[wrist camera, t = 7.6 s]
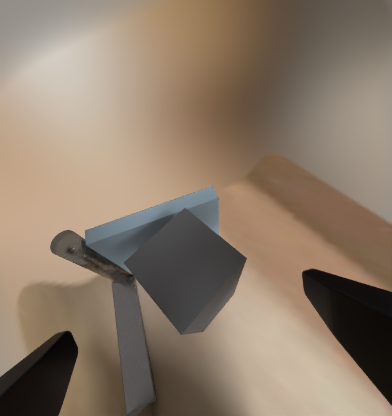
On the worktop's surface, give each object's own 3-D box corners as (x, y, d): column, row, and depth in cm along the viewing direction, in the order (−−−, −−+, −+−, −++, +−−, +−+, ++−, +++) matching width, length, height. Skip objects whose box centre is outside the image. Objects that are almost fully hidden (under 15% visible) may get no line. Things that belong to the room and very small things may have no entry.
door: (133, 275, 21) (85, 245, 14) (129, 251, 23) (84, 213, 15) (219, 242, 22) (218, 197, 15) (209, 222, 24) (205, 171, 16)
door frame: (160, 421, 16) (90, 528, 7) (131, 434, 16) (23, 561, 7) (132, 264, 23) (80, 225, 14) (112, 271, 23) (46, 237, 14)
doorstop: (233, 294, 20) (246, 258, 10) (202, 331, 19) (181, 334, 8) (201, 264, 22) (184, 207, 12) (171, 295, 21) (123, 262, 10)
